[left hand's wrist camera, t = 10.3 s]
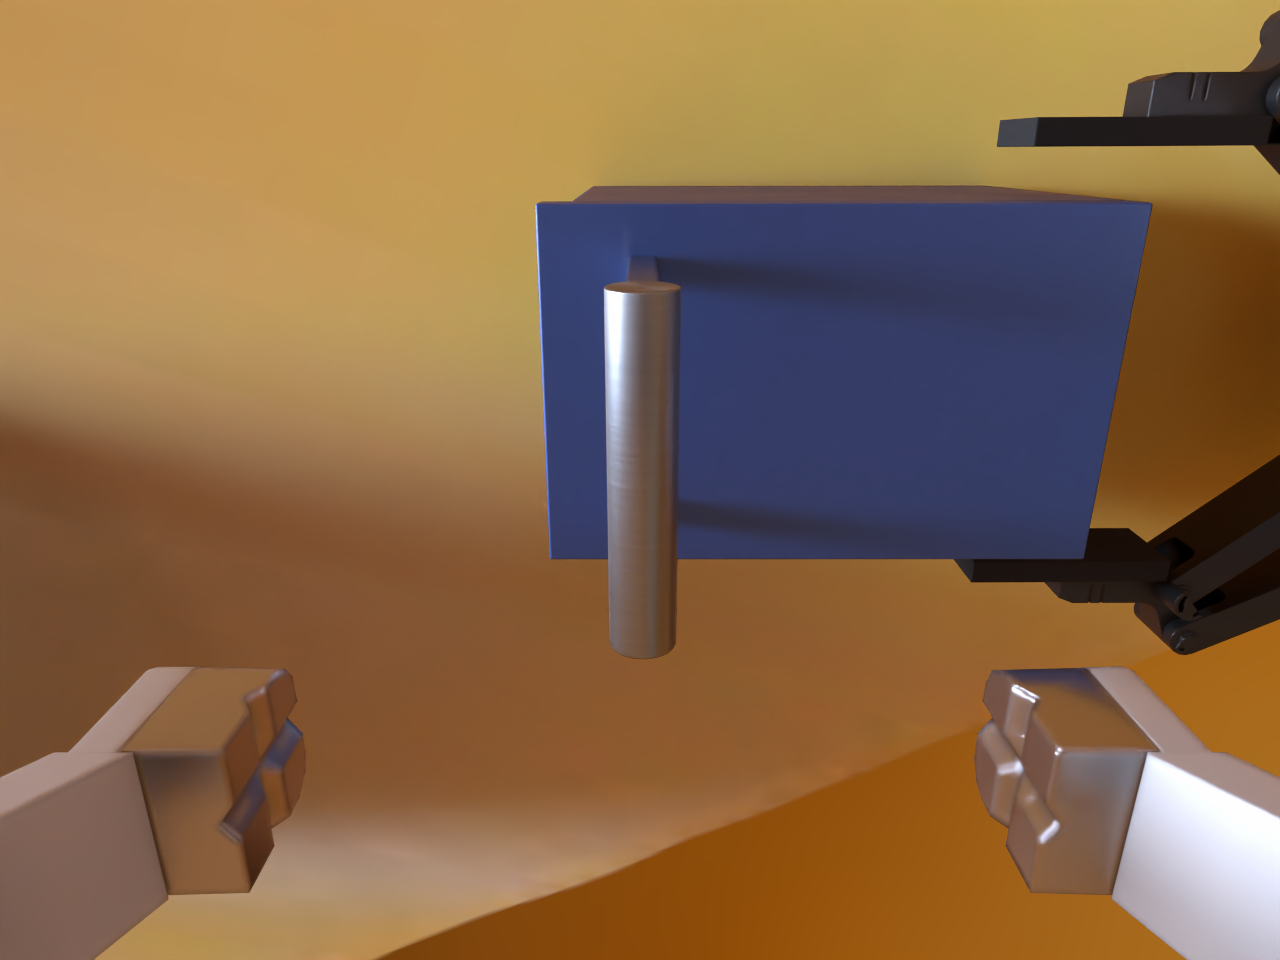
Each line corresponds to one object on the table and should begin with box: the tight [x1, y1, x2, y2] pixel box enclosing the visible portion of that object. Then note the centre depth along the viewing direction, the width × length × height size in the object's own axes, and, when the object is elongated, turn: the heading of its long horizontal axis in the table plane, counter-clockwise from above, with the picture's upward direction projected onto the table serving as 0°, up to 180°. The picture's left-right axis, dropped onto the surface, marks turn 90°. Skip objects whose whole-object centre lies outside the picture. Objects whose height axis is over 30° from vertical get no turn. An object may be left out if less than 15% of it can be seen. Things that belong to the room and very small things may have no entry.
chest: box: [572, 186, 1126, 202], centre depth 29 cm, size 15×10×10 cm
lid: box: [535, 201, 1152, 659], centre depth 21 cm, size 15×10×8 cm, turn 90°
